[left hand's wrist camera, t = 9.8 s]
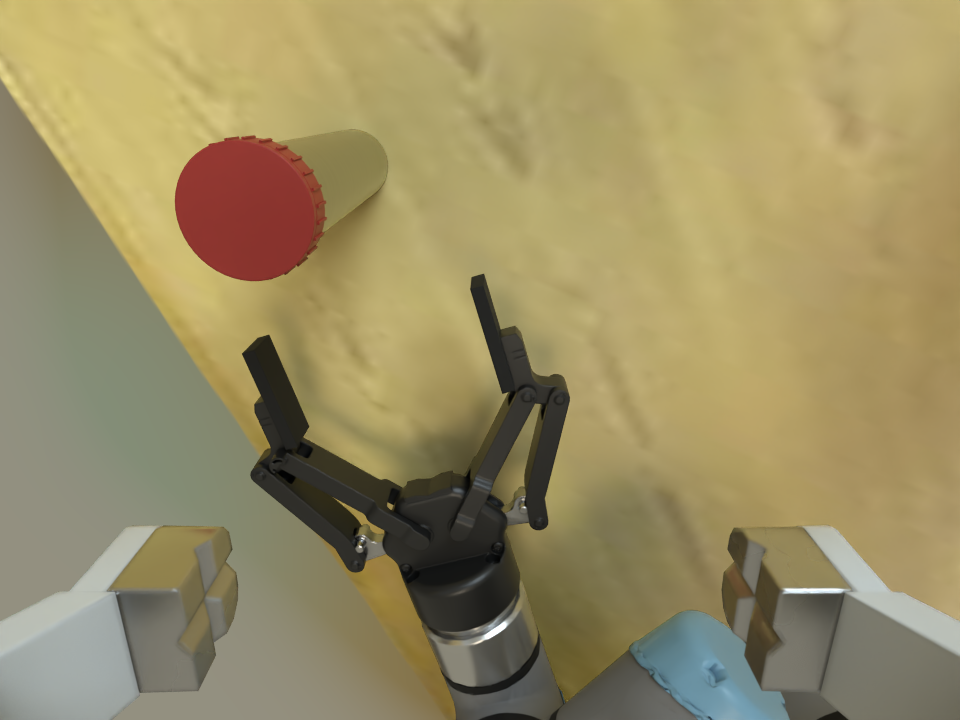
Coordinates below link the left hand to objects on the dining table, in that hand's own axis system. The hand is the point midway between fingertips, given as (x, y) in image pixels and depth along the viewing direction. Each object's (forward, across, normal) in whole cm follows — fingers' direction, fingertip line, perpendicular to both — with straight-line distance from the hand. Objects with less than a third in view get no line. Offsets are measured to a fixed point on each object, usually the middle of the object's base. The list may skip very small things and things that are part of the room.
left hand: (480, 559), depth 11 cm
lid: (+14, +8, -4) cm, 17 cm away
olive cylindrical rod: (+34, +8, -4) cm, 35 cm away
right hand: (+27, +7, +4) cm, 28 cm away
